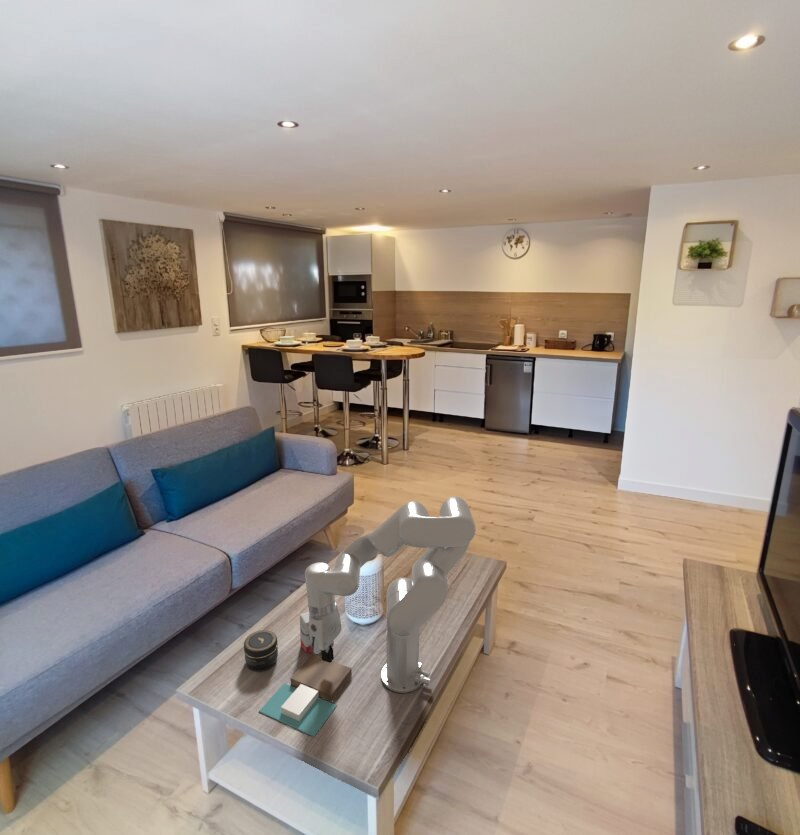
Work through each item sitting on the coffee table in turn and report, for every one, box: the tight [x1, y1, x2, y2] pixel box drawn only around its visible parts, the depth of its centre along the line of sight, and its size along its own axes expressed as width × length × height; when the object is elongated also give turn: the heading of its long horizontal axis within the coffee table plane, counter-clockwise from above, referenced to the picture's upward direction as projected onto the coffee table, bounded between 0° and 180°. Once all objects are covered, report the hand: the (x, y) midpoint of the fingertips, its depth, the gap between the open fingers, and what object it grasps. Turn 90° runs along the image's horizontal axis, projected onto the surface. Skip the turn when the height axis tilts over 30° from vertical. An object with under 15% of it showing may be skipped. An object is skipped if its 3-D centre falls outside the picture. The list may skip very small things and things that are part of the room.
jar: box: [243, 629, 279, 672], centre depth 151 cm, size 10×10×8 cm
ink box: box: [299, 610, 314, 655], centre depth 158 cm, size 8×5×12 cm, turn 123°
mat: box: [258, 683, 337, 738], centre depth 135 cm, size 18×11×1 cm, turn 65°
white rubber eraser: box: [281, 684, 320, 721], centre depth 136 cm, size 6×9×2 cm, turn 155°
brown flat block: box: [289, 653, 353, 703], centre depth 145 cm, size 14×11×2 cm
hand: (327, 659), depth 144 cm, fingers closed
